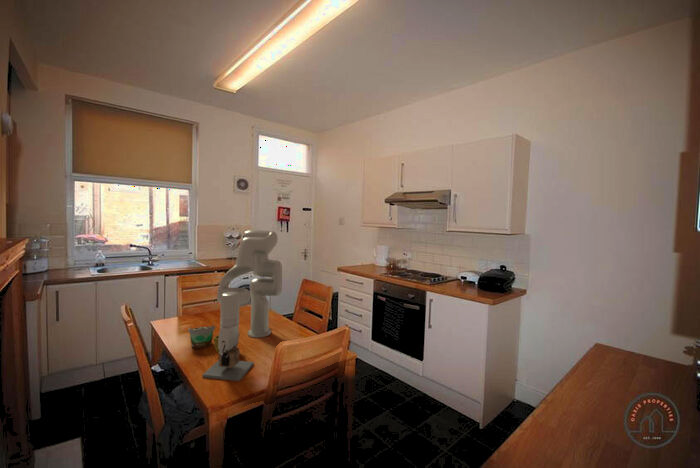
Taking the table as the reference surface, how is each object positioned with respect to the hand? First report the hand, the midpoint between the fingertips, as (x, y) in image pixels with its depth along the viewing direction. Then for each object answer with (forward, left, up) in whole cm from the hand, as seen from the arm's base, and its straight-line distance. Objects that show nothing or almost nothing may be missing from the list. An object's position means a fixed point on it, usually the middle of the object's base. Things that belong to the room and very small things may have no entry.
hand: (229, 361), depth 136 cm
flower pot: (-15, -9, -4) cm, 18 cm away
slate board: (0, 0, -4) cm, 4 cm away
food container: (-19, -24, -4) cm, 31 cm away
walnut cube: (0, 0, -1) cm, 1 cm away
